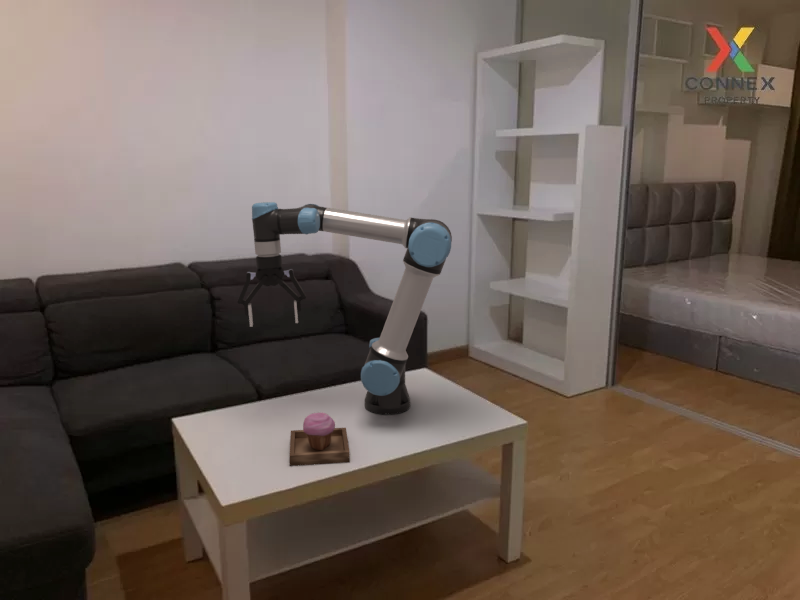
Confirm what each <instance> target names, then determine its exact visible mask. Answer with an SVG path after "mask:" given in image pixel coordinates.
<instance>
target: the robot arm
mask: <svg viewBox="0 0 800 600" xmlns="http://www.w3.org/2000/svg"><path fill="white" fill-rule="evenodd" d="M251 220H252V230H253V239H254V240H253V243H254V244H253V245H254V252H255V253H254V254H255V255H256V257H255V262H256V263H255V264H256V272H251V271H247V272H246V277H245V280H246V281H245V282H244V284H243V287H242V289H241V292H240V295H239V297H238V298H237V299H238V300H237V304H239V305H243V307H244V315H245V316H248V318H249V319H248V321H249V327H253V326H254V321H253V309H252V303H250V302H251V301H252V299H253V298H254V297H255V296H256V294H257V292H259V290H260V289H261V288H262V287H263V286H264V287H271V286H273V287H276V286H278V285H279V286H281V288H283V289H284V290H285V291H286V292H287V294H289V296H291V297H292V298H293V299H294V300H293V306H294V307H293V308H294V319H295V320H294V321H295V324H298V323H299V317H298V316H299V315H298V312H299V313H300V312H301V311H302V306H301V305H302V304H301V302H302V301H303V300H306V298H307V295H306V293H305V292H304V289H303V288H302V286H301V285H300V283H299V282H298V279H297V278H296V277H295V274H294V273H295V272H294V269H293V268H289V269H286V270H284V269H283V261H282V255H281V253H282V247H281V236H280V235H310V234H317V233H318V232H326V233H332V234H338V235H343V236H350V237H357V238H361V239H367V240H368V239H369V240H373V241H381V242H386V243H393V244H397V245H398V244H399V245H402V246H403V247H404V249H406V251H405V254H404V256H403V258H402V263H403V265H404V267H405V269H404V271H403V274H402V277H401V280H400V283H399V285H398V288H397V289H396V293H395V296H394V299H393V301H392V303H391V306H390V309H389V312H388V315H387V318H386V320H385V323H384V325H383V329H382V331H381V333H380V336H379V337H374V338H372V339H370V340H369V345H368V348H369V352H368V354H367V357H366V359H365V362H364V365H363V366H362V367H361V371H360V381H361V384H362V386H363V388H364V389H365V390H366V391H367V392H366V393H365V397H364V408H365V409H366V410H367V411H368V412H371V413H374V414H379V415H395V414H396V415H397V414H401V413H403V412H406V411H408V410H409V409H410V408H411V396H410V394H409V391H408V389H407V385H406V364H407V361H408V358H409V355H408V353H407V351H406V350H407V347H408V345H409V343H410V340H411V337H412V334H413V332H414V328H415V327H416V324H417V321H418V319H419V316H420V313H421V311H422V308H423V305H424V303H425V301H426V298H427V296H428V293H429V290H430V288H431V285H432V282H433V279H434V278H436V277H438V276H440V275H441V274H442V270H443V268H444V265H445V262H446V261H447V258H448V256H449V255H450V253H451V249H452V242H453V241H452V240H453V236H452V232H451V230H450V228H449V226H447V224H445V223H444V222H442V221H440V220H438V219H435V218H434V219H433V218H431V219H430V218H417V217H409V218H407V219H402V218H401V219H400V218H395V217H389V216H382V215H377V214H376V215H375V214H370V213H364V212H363V213H362V212H357V211H356V212H355V211H352V210H351V211H350V210H345V209H340V208H339V209H338V208H331V207H324V206H319V205H318V204H314V203H307V204H305V205H303V206H299V207H295V208H279V207H278V204H277V202H275V201H269V202H268V201H265V202H264V201H263V202H256V203H254V204H253V205H252V206H251ZM284 276H287V278H290V280H291V282H292V284H293V286H294V287H295V288H296V291H297V292H298V294H299V295H298V294H297V293H296V292H295V290H293V289H292V287H290V286H289V284H288V283H286V282H285V281H284V280H283V278H284ZM254 278H256V279H257V280H258V282H257V284H256V285H255V286H254V288H253V289H252V290H251V292H250V294H248V295H247V297H246V298H245V296H246V292H247V291H248V288H249V285H250V283H251V280H252V281H253V280H254ZM244 298H245V299H244Z"/></svg>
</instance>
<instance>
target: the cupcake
mask: <svg viewBox="0 0 800 600" xmlns="http://www.w3.org/2000/svg"><path fill="white" fill-rule="evenodd" d="M302 426H303V429H302V430H303V431H304V432H305V433H306V435H307V438H308V441H309V444H310V447H311V448H313V449H316V450H323V449H325V448H326V447H327V446H329V445H330V443H331V435H332V432H333V431H334V429H335V428H336V422H335V420H334V419H333V418H332V417H331V416H330V415H329V414H327V413H326V412H321V411H320V412H319V411H318V412H314V413H309V414H308V415H307V416H305V418H304V420H303V425H302Z"/></svg>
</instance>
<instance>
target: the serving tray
mask: <svg viewBox="0 0 800 600" xmlns="http://www.w3.org/2000/svg"><path fill="white" fill-rule="evenodd" d="M289 438H290V439H289V441H290V442H289V455H288V457H289V467H296V466H297V467H298V465H299V466H315V465H326V464H327V465H328V464H330V465H331V464H345V463H346V464H347V463H350V461H351V458H350V455H351V454H350V446H349V440H348V438H349V437H348V433H347V427H335V429H334V431H333V432H332V435H331V443H330V445H329V446H327V447H326V448H325V449H323V450H316V449H313V448H311V447H310V444H309V441H308V438H307V435H306V433H305V432H304V431H303V429H300V430H299V429H298V430H297V429H296V430H290V436H289ZM314 464H315V465H314Z"/></svg>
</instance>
